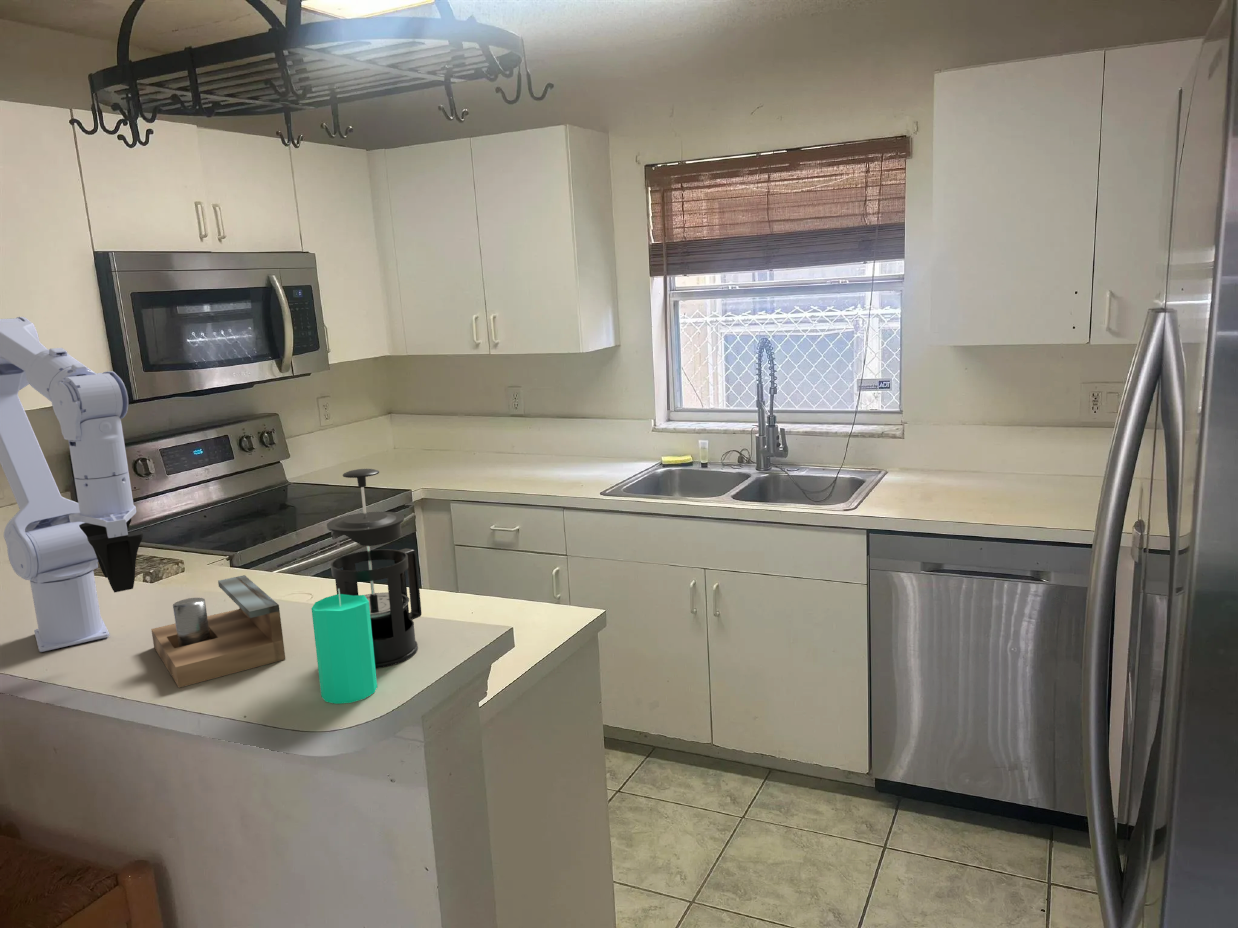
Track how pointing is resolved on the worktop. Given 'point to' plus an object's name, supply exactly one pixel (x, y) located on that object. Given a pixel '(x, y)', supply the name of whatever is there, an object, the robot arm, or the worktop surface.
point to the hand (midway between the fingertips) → (118, 582)
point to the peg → (191, 621)
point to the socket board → (226, 637)
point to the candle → (344, 648)
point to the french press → (380, 577)
